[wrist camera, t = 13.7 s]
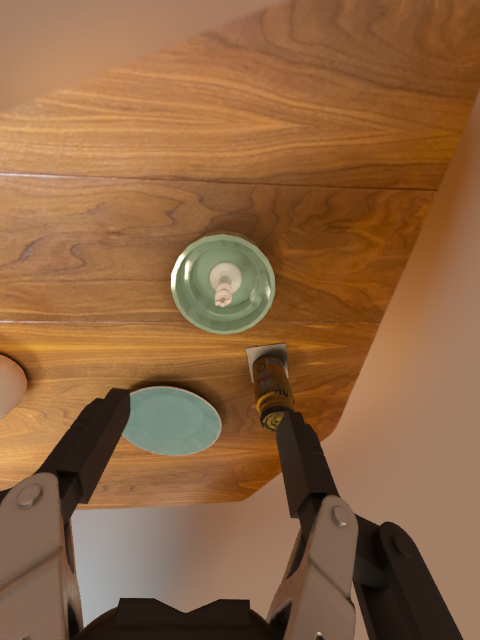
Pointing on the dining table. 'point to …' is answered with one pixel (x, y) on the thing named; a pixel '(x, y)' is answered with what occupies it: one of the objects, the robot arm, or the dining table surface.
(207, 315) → the bowl
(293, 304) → the dining table surface
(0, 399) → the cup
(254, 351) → the condiment
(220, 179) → the dining table surface
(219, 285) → the chess piece
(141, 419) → the plate
